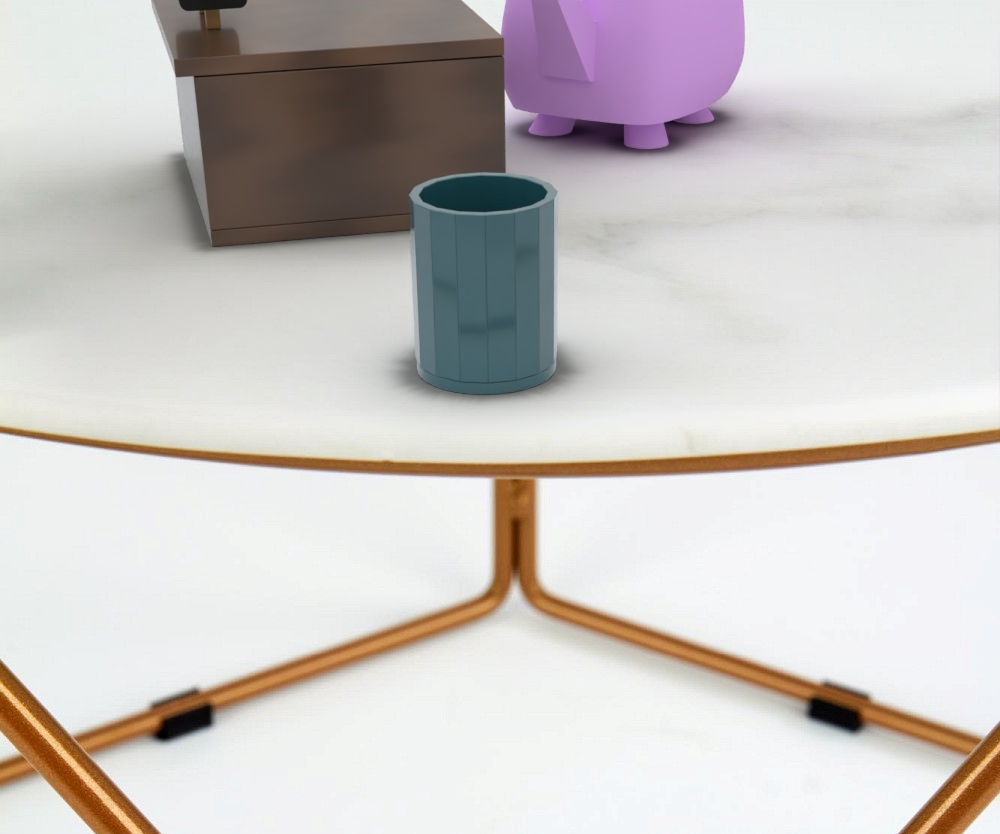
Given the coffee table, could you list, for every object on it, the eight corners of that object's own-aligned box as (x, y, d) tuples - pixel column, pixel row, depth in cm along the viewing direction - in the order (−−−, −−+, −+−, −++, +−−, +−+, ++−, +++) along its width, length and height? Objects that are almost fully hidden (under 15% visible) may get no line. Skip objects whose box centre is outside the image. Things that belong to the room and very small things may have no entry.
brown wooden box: (211, 247, 83) (193, 77, 78) (184, 157, 96) (167, 8, 92) (506, 222, 85) (504, 56, 81) (439, 138, 99) (434, -8, 94)
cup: (432, 401, 66) (425, 220, 62) (405, 350, 71) (397, 178, 67) (571, 386, 67) (573, 207, 63) (536, 337, 72) (536, 167, 68)
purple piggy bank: (603, 78, 110) (607, -143, 103) (784, 99, 105) (801, -133, 98) (439, 153, 96) (430, -98, 89) (639, 182, 91) (646, -83, 83)
